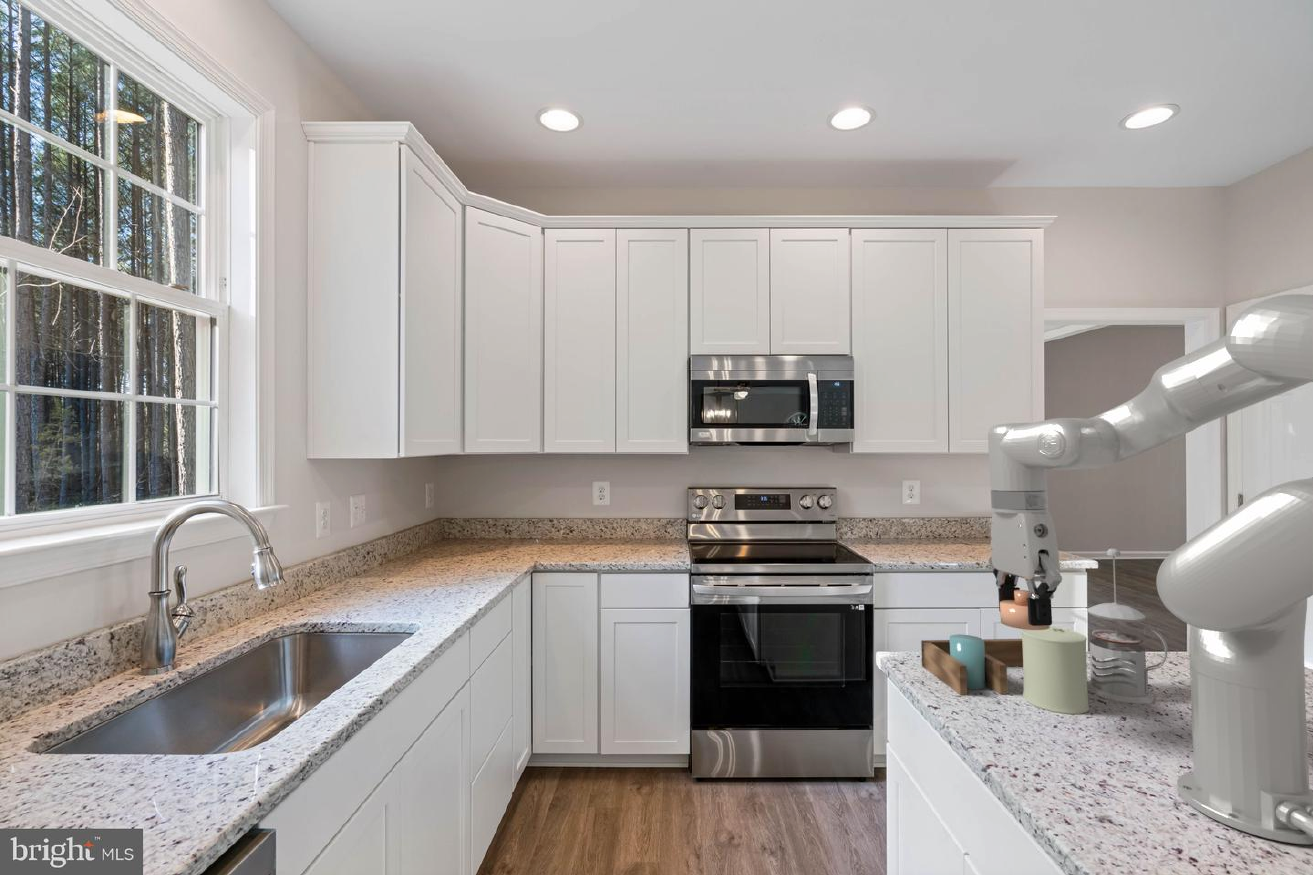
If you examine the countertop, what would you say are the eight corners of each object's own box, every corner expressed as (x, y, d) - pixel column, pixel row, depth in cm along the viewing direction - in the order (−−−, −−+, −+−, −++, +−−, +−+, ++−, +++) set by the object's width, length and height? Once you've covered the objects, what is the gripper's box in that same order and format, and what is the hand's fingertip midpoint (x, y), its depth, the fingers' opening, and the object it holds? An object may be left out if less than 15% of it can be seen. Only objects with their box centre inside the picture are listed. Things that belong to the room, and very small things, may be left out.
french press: (1088, 676, 109) (1084, 542, 109) (1171, 694, 100) (1166, 549, 101) (1078, 692, 102) (1074, 549, 102) (1166, 712, 93) (1161, 556, 94)
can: (1092, 701, 98) (1090, 629, 98) (1085, 719, 91) (1082, 642, 92) (1029, 686, 104) (1027, 619, 105) (1017, 703, 97) (1015, 631, 98)
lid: (1060, 629, 86) (1058, 595, 87) (1017, 630, 86) (1016, 596, 87) (1031, 618, 93) (1029, 586, 93) (992, 619, 93) (990, 587, 93)
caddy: (1081, 692, 101) (1080, 663, 101) (960, 694, 101) (959, 665, 101) (1028, 663, 115) (1027, 638, 115) (921, 665, 115) (921, 640, 115)
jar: (992, 689, 103) (990, 643, 103) (961, 689, 103) (960, 644, 103) (974, 677, 109) (973, 634, 109) (944, 677, 109) (943, 634, 109)
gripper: (1084, 505, 82) (1091, 634, 81) (1007, 498, 99) (1013, 604, 98) (1032, 506, 82) (1038, 635, 81) (964, 499, 99) (969, 605, 98)
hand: (1024, 617), depth 90 cm, fingers closed on lid, 6 cm apart
